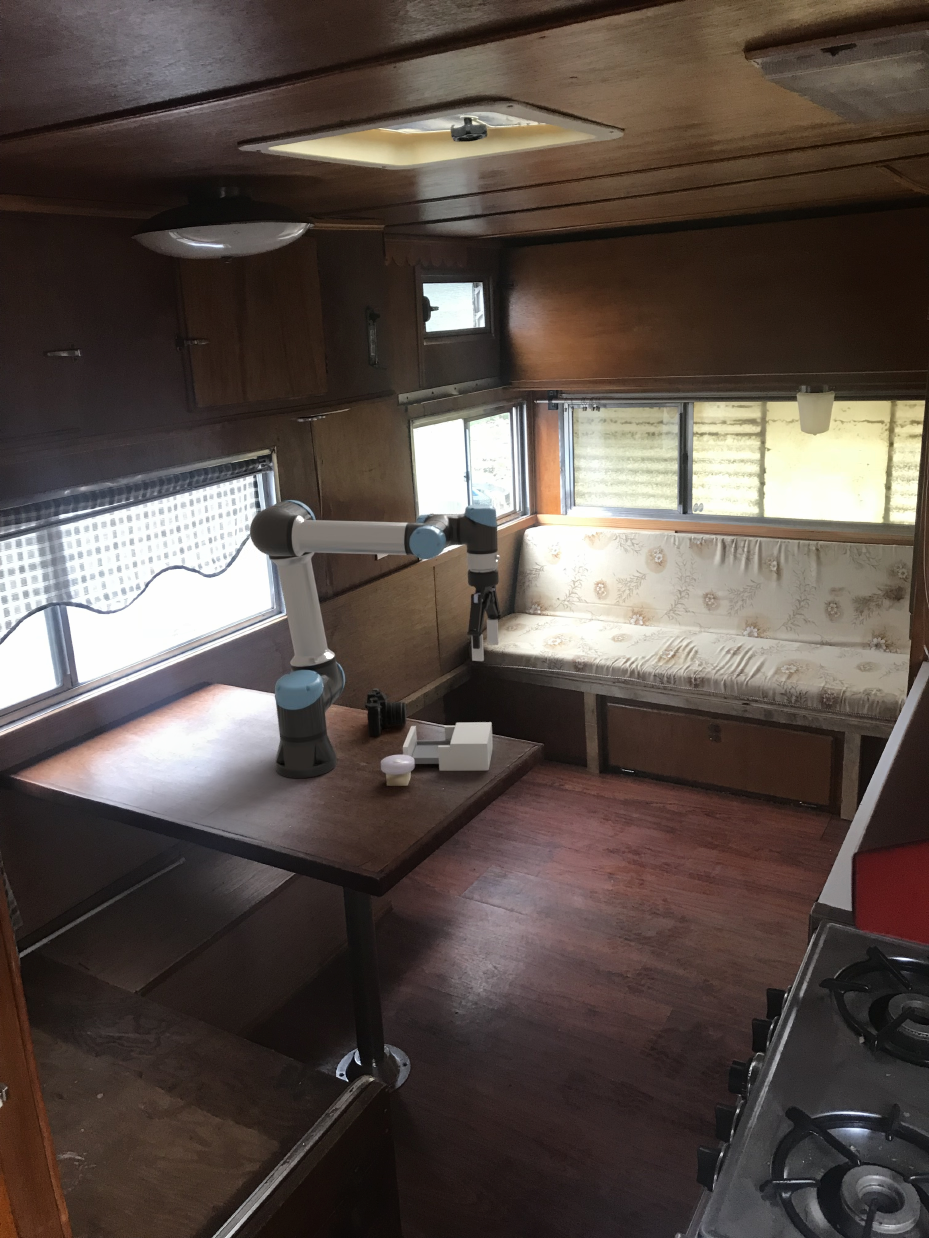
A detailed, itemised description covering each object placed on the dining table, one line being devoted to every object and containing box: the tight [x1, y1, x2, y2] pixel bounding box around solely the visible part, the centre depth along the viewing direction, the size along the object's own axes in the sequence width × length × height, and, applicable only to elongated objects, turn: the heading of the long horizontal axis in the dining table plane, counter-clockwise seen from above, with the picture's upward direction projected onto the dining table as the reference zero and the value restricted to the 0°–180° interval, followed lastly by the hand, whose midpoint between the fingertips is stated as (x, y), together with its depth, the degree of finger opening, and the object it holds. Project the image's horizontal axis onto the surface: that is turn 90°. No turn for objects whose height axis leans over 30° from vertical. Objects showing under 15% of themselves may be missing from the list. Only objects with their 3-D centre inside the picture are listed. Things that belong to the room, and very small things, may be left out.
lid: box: [380, 754, 416, 775], centre depth 235 cm, size 8×8×2 cm
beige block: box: [385, 771, 412, 787], centre depth 236 cm, size 5×5×4 cm
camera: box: [364, 687, 407, 738], centre depth 270 cm, size 14×11×10 cm
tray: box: [402, 725, 451, 765], centre depth 247 cm, size 12×14×6 cm
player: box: [438, 721, 494, 772], centre depth 246 cm, size 12×14×7 cm
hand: (485, 652), depth 246 cm, fingers open, 13 cm apart
